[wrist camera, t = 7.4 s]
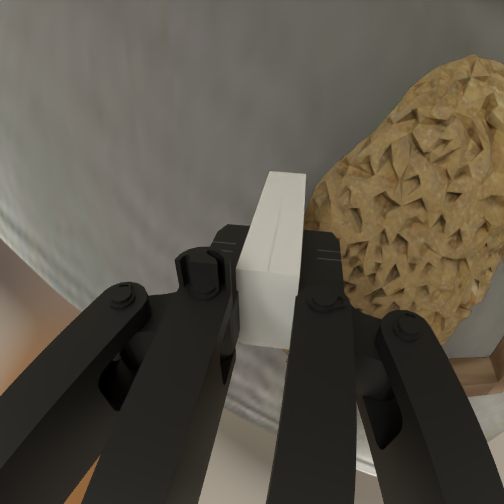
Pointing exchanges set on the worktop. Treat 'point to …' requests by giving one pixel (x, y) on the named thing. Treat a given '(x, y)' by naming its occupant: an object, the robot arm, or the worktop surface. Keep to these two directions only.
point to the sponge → (423, 199)
